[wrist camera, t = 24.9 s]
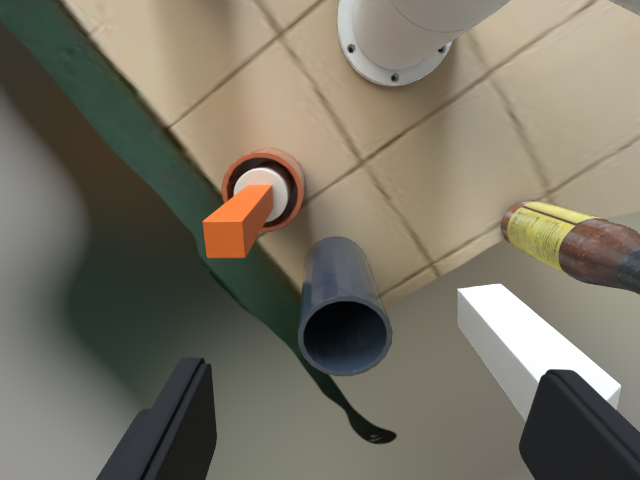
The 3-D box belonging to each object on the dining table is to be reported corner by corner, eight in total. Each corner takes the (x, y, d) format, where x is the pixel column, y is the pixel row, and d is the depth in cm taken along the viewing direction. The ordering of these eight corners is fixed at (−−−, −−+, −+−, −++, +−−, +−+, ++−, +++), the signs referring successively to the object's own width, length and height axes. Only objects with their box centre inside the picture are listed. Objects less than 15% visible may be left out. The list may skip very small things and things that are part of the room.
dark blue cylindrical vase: (304, 236, 42) (296, 296, 27) (367, 236, 43) (395, 296, 27) (305, 293, 45) (299, 376, 30) (365, 293, 45) (388, 376, 30)
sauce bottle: (509, 253, 43) (656, 349, 25) (490, 215, 42) (633, 286, 23) (557, 228, 42) (749, 307, 23) (539, 187, 41) (731, 237, 22)
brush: (246, 162, 39) (173, 196, 19) (292, 162, 39) (266, 196, 19) (249, 207, 40) (185, 280, 21) (293, 207, 40) (270, 279, 21)
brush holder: (235, 148, 39) (218, 152, 32) (304, 148, 39) (301, 152, 32) (240, 215, 42) (225, 232, 35) (305, 215, 42) (303, 231, 35)
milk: (500, 282, 45) (662, 416, 24) (499, 321, 47) (647, 475, 26) (455, 288, 45) (577, 425, 24) (456, 326, 47) (569, 483, 26)
